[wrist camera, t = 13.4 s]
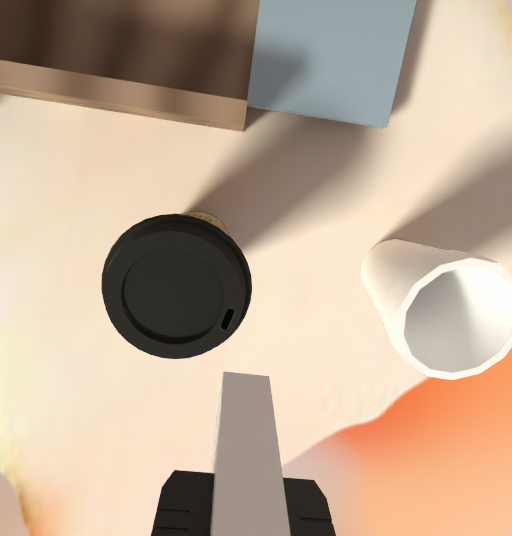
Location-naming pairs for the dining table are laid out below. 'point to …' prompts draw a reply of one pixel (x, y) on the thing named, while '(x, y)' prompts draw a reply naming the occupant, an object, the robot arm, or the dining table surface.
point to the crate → (133, 56)
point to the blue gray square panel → (330, 58)
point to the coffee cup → (176, 285)
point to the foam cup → (441, 306)
